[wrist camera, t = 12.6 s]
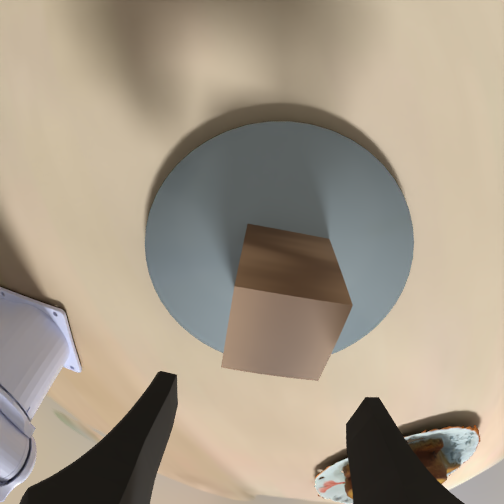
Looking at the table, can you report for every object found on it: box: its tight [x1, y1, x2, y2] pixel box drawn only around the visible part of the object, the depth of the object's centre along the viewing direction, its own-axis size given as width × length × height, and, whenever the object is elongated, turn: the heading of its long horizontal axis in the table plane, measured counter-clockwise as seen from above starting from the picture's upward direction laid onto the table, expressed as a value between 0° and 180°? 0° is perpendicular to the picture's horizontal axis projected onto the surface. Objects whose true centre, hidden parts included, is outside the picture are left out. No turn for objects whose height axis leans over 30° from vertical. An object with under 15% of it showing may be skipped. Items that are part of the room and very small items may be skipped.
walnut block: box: [221, 224, 353, 381], centre depth 15 cm, size 4×4×6 cm
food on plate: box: [314, 425, 480, 504], centre depth 30 cm, size 26×25×7 cm
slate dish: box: [145, 121, 414, 354], centre depth 18 cm, size 16×16×1 cm
